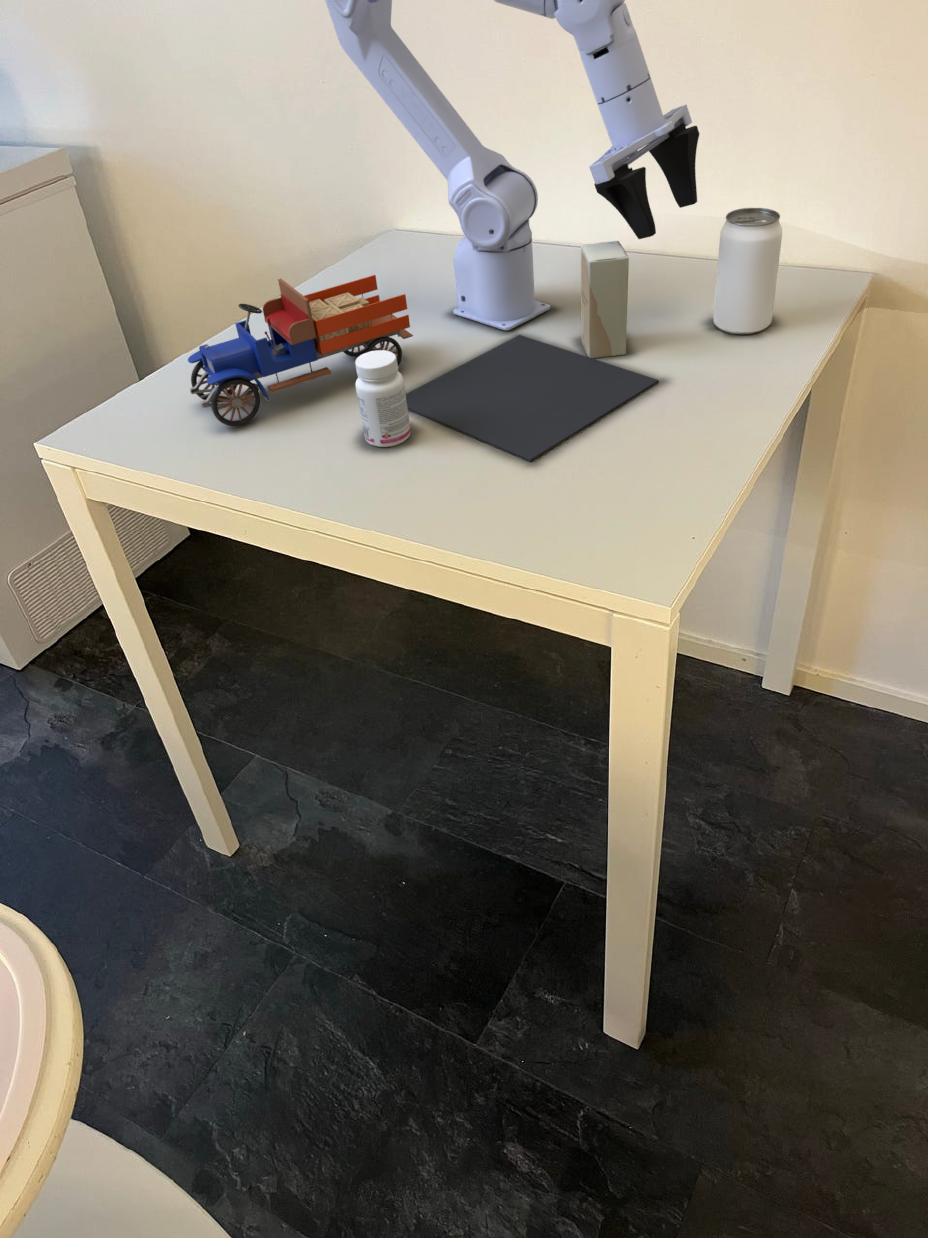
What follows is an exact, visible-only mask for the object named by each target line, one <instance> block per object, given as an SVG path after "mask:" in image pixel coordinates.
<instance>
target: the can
mask: <svg viewBox="0 0 928 1238" xmlns="http://www.w3.org/2000/svg"><path fill="white" fill-rule="evenodd" d="M780 219H781V214H780V213H779V211H776V210H774V209H770V208H766V207H742V208H738V209H733V210H732V211H730V212H728V213H727V214H726V215H725V222H724V224H723V225H722V226H721V227H722V228H721V229H720V233H719V234H720V235H719V244H718V256H717V266H716V267H717V269H716V278H715V279H716V280H715V290H714V291H715V293H714V304H713V305H714V306H713V318H712V319H713V320H712V321H713V324H714V325H715V326H716V328H717V329H718V330H719V331H722V332H724V333H727V334H731V335H752V334H753V335H754V334H757V333H761V332H762V331H764V330H766V329H767V328H768V327H769V326H770V325H771V324H772V320H773V313H774V307H775V299H776V289H777V280H778V273H779V266H780V257H781V250H782V249H781V248H782V239H783V228H782V224H781V222H780Z"/></svg>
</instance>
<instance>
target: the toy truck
mask: <svg viewBox="0 0 928 1238" xmlns="http://www.w3.org/2000/svg"><path fill="white" fill-rule="evenodd" d="M277 281H278V287H279V291H280V294H279V295H280V297H276V298H273V299H269V300H267V301H265V302H264V303H263V305H262V309H261V308H259V307H257V306H254V305H252V304H247V303H239V304H238V308H239V309H241V310H242V311H245V312H247V315H246V319H245V320H242V321H238V322H235V323H234V324H235V328H236V332H237V336H238V337H236V338H233V339H228V340H226V341H223V342H220V343H216V344H212V345H209V344H208V343H207V344H203V345H200V346H199V347H198V349H199V350H198V351H196V352H194V353H192V354H191V355H189V357H188V358H187V362H188V363H189V364H195V363H196V364H195V366H194V368H193V369H192V372H191V375H190V385H191V387H189V393H190V394H191V395H197V396H198V397H199V399H201V401H200V405H201V407H202V408H203V409H205V408H211V411H212V413H213V416H214V417H215V418H216V419H217V420H218V422H220V423H221V424H223V425H225V426H228V427H241V426H244V425H246V424H248V423H250V422H251V421H252V420H254V418H255V417H256V416H257V414H258V413H259V411H260V408H261V401H262V400H261V395H262V396H263V397H264V398H265V400H266V401H270V397H269V394H268V392H267V390H268V391H269V392H270V393H271V394H272V393H276V392H279V391H282V390H285V389H288V388H291V387H295V386H298V385H301V384H303V383H306V382H310V381H313V380H316V379H318V378H321V377H324V376H328V375H331V374H332V370H331V369H330V368H328V366H325V367H322V368H318V369H316V370H313V368H312V364H311V363H314V362H316V361H318V360H322V359H324V358H327V357H330V356H333V355H337V354H340V353H344V354H345V355H346V356H348V357H352V358H358V357H359V356H360V355H362V354H364V353H367V352H371V351H377V350H385V351H390V352H392V351H393V350H394V349H395V350H396V351H395V352H393V353H394V354H395V355H396V359H397V364H398V368H399V367H400V366H401V364H402V361H403V350H402V347H401V345H400V344H399V341H397V340H396V339H394V338H393V336H396V335H397V337H400V338H401V339H403V340H406V339H408V338H409V339H410V338H411V337H414V335H413V334H412V333H410V332H409V331H408V330H406V329H409V328H411V322H410V315H409V314H405V315H402V316H399V317H397V316H396V315H394V314H396V313H400V312H403V311H406V310H408V303H407V295H406V293H403V294H400V295H397V296H393V297H390V298H386V299H384V300H380V295H379V294H376V295H373V296H369V297H366V298H365V297H364V294H368V293H370V292H374V291H377V290H379V288H378V282H377V275H376V274H372V275H369V276H366V277H362V278H360V279H356V280H355V279H354V280H353V281H349V282H346V283H341V284H338V285H335V286H331V287H329V288H324V289H322V290H318V291H315V292H311V293H308V294H305V295H303V294H302V293H300V292H299V291H298V290H297V289H296V288H294V287H293V286H292V285H290V284H289V283H288V282H286V281H285V280H284V279H282V278H277ZM360 295H361V297H358V298H357V296H360ZM251 313H252V314H258V315H259V314H263V318H264V322H265V323H266V324H267V327H268V331H264V335H266V337H263V338H260V339H256V338H255V337H254V336H253V335H252V333H251V329H250V328H251V327H250V324H249V322H250V317H251ZM268 332H269V334H268ZM390 344H392V345H391V347H390V348H389V346H390ZM377 345H379V347H376V346H377ZM362 346H363V349H361V347H362ZM355 348H357V351H355ZM388 348H389V349H388ZM307 364H309V369H310V372H307V373H304V374H301V375H298V376H294V377H291V378H288V379H285V380H282V381H279V377H278V373H282V372H285V371H288V370H291V369H294V368H298V367H301V366H304V365H307ZM201 370H203V371H204V373H203V374H200V373H199V372H200V371H201ZM272 375H275V376H276V380H277V382H276V383H273V384H270V385H267V387H266V388H267V390H266V389H265V387H264V385H263V384H262V383H261V381H260V380H259V379H262V378H266V377H269V376H272ZM198 378H199V379H198ZM253 381H254V382H253ZM205 384H206V386H205V387H204V388H203V389H200V387H201V386H202V385H205ZM243 386H246V387H247V388H246V389H245V390H244V391H243V392H242V388H243ZM210 387H211V388H210ZM237 387H238V389H237ZM236 390H237V393H236ZM241 392H242V394H241ZM205 393H206V394H205ZM251 394H253V395H251ZM253 399H254V403H248V402H246V401H249V400H253ZM245 407H249V408H252V409H251V411H250V412H249V411H248V410H247V409H246V408H245ZM226 408H227V409H226ZM223 409H226V410H225V411H224V412H223V413H222V414H221V413H220V410H223ZM240 409H241V410H242V411H243V412H244V413H245V414H246V416H245V417H243V418H242V414H241V410H240ZM230 411H231V414H230V418H229V419H227V418H225V417H226V416H227V415H228V414H229V413H230ZM236 412H237V417H238V419H236V420H234V417H235V413H236Z"/></svg>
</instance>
